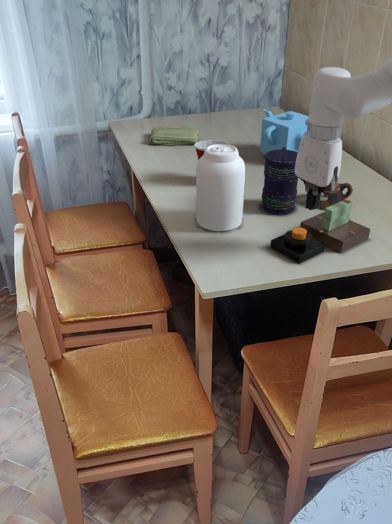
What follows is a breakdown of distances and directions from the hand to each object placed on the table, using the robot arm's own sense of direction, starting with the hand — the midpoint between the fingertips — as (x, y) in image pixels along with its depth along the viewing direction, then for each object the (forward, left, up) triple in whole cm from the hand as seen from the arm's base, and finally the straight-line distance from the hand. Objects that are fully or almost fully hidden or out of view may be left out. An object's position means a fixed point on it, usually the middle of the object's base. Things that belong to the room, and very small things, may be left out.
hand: (311, 207), depth 132 cm
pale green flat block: (-1, -9, -7) cm, 12 cm away
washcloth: (+84, -22, -11) cm, 88 cm away
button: (0, +4, -7) cm, 8 cm away
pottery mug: (+13, -24, -11) cm, 30 cm away
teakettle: (+46, -42, -11) cm, 63 cm away
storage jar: (+20, -10, -11) cm, 25 cm away
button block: (0, +4, -10) cm, 11 cm away
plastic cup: (+46, -7, -11) cm, 48 cm away
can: (+24, +9, -11) cm, 28 cm away
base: (-1, -9, -10) cm, 14 cm away
